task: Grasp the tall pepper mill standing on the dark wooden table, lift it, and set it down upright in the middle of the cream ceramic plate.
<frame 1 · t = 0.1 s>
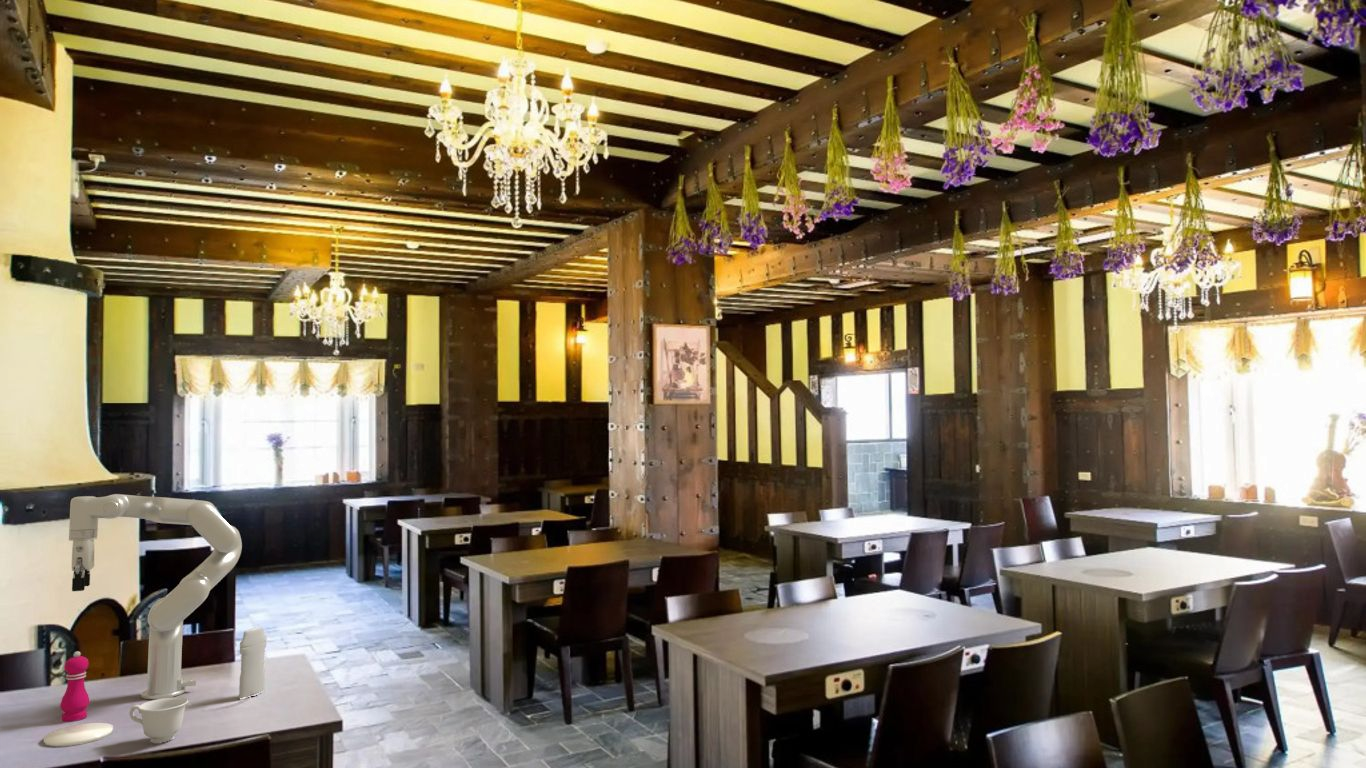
hand: (80, 588, 271), 37 cm above the table, tool pointing down, fingers open, 9 cm apart
tall pale column: (251, 696, 277), on the table
teacup: (156, 740, 236), on the table
pepper mill: (74, 719, 255), on the table
plate: (78, 736, 240), on the table
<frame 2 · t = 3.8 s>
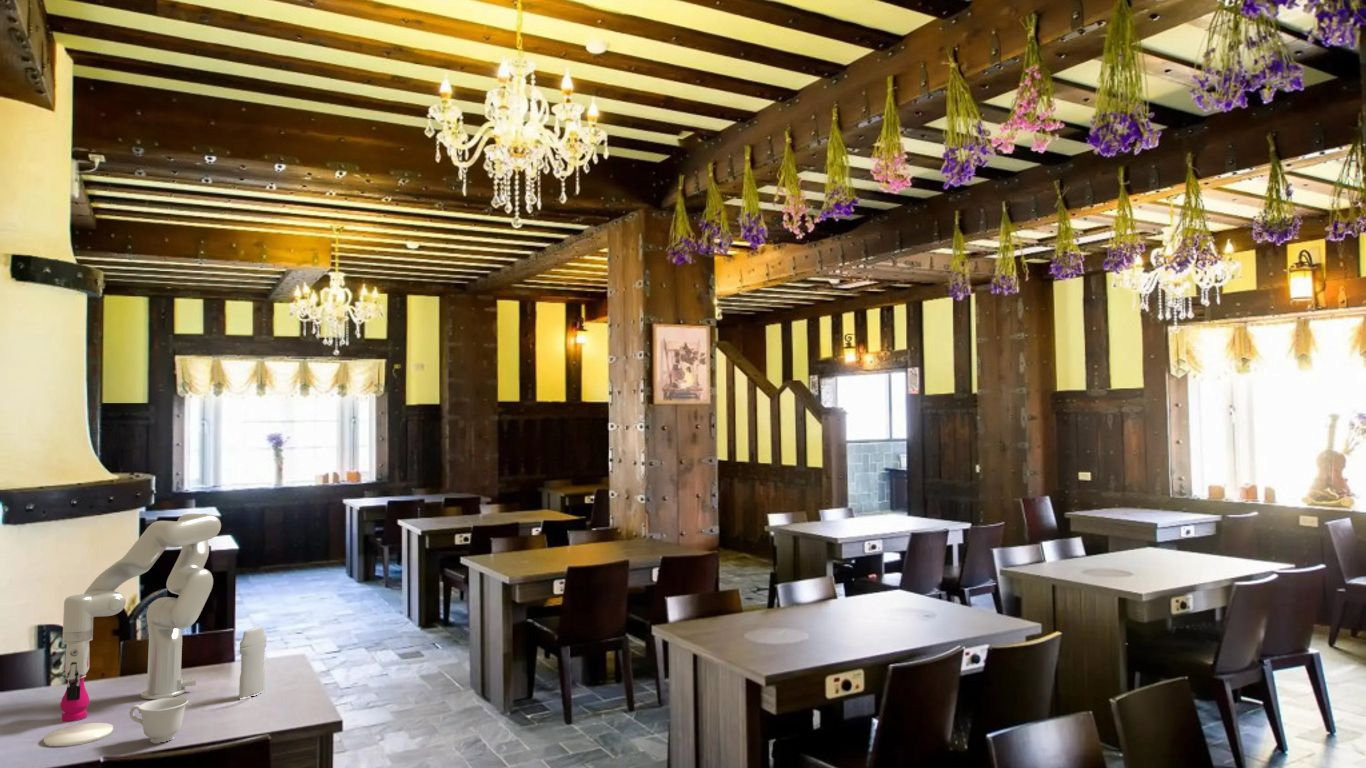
hand: (75, 696, 256), 7 cm above the table, tool pointing down, fingers closed on pepper mill, 5 cm apart
pepper mill: (74, 719, 255), on the table, touching gripper
everything else where it was.
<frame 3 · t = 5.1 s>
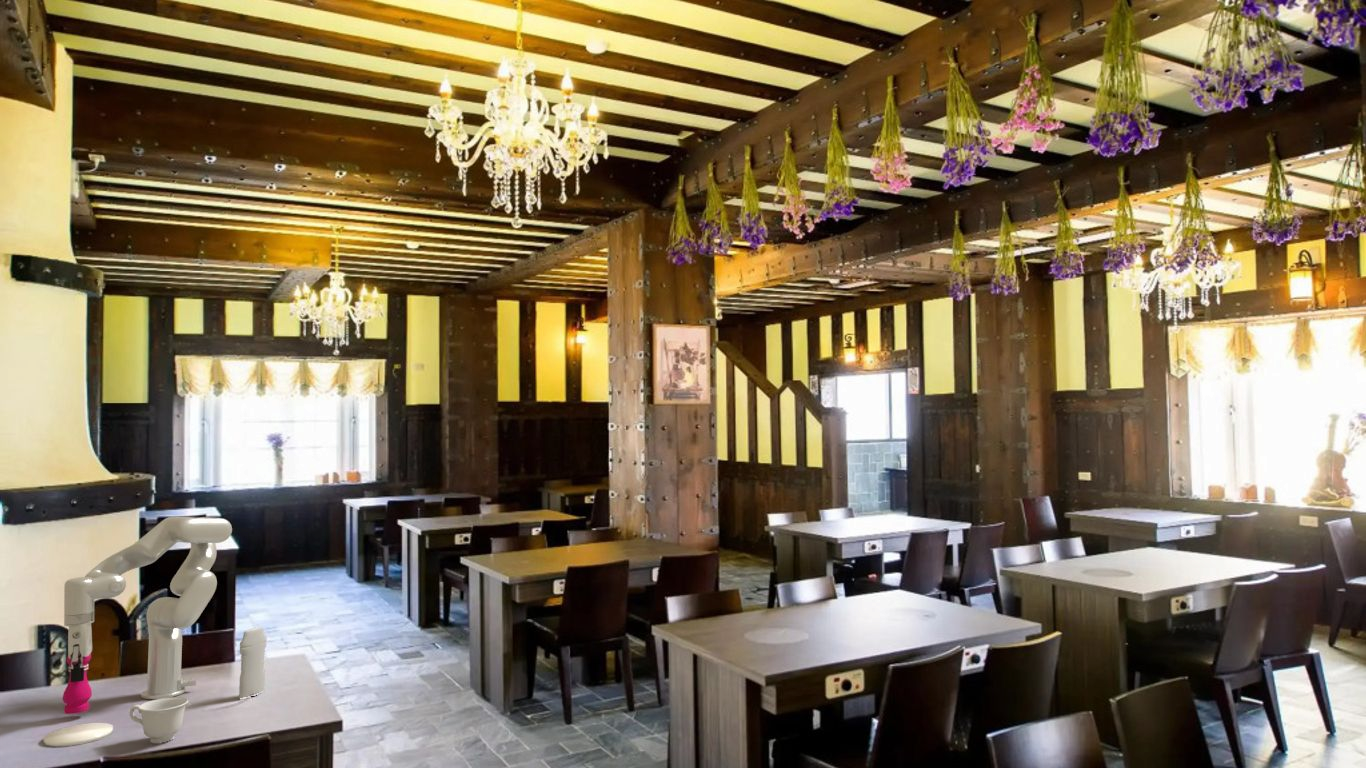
hand: (79, 678, 257), 12 cm above the table, tool pointing down, fingers closed on pepper mill, 5 cm apart
pepper mill: (76, 711, 256), point 2 cm above the table, touching gripper
everything else where it was.
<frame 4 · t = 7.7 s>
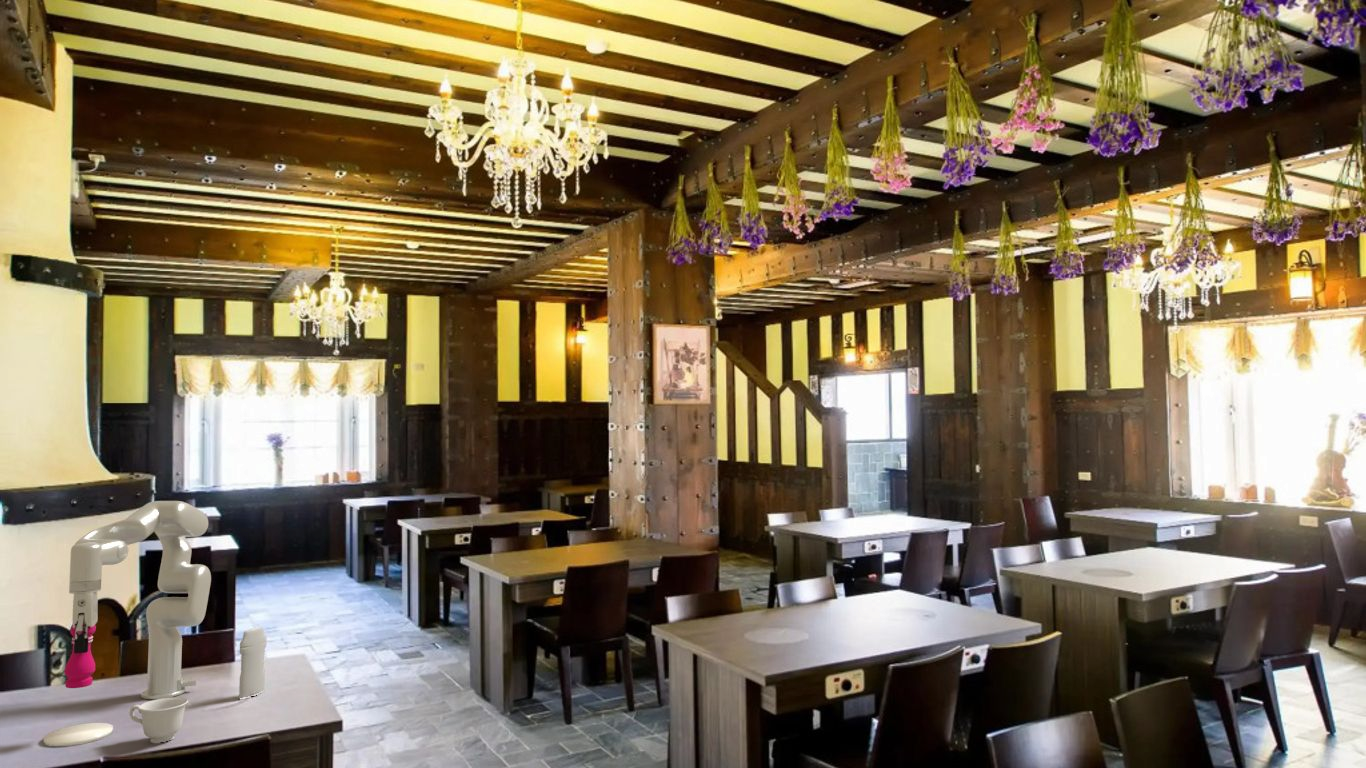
hand: (82, 649, 241), 24 cm above the table, tool pointing down, fingers closed on pepper mill, 5 cm apart
pepper mill: (78, 686, 240), point 14 cm above the table, touching gripper
everything else where it was.
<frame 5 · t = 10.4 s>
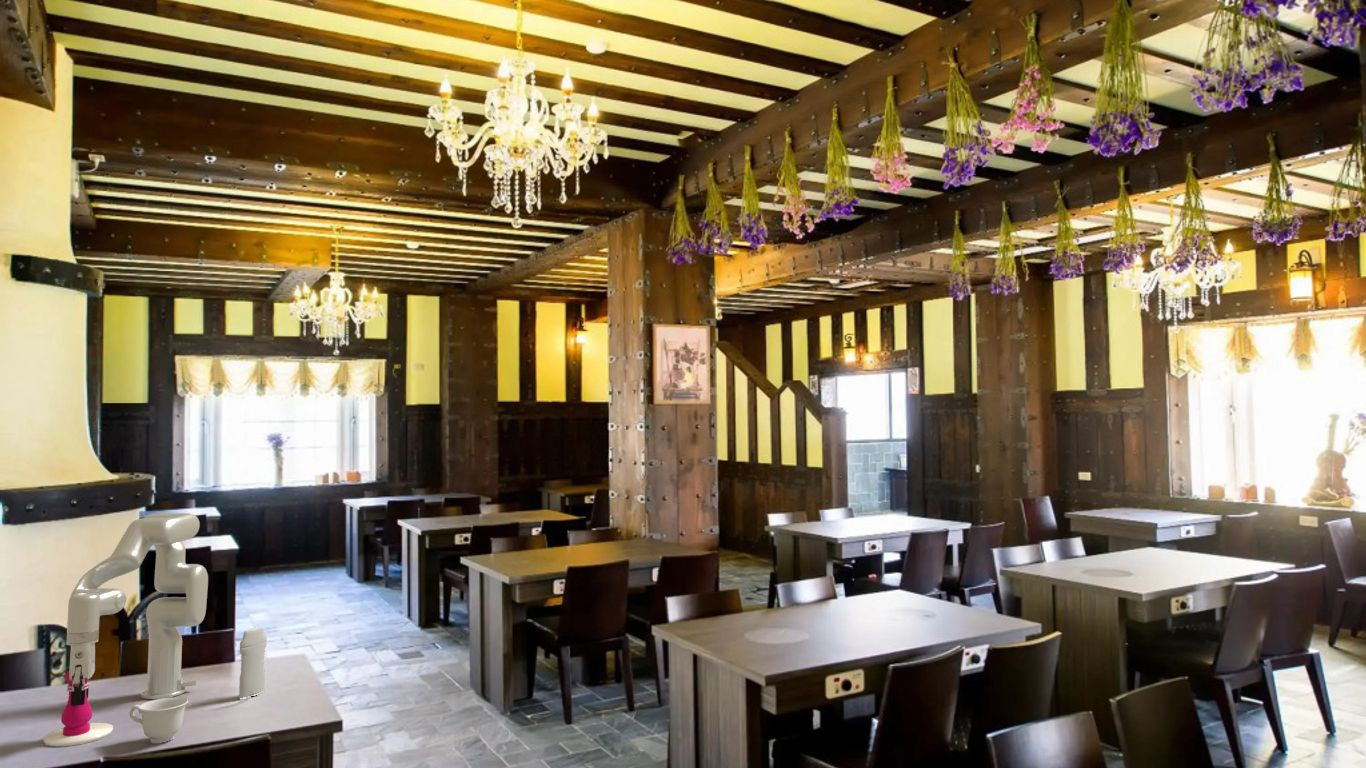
hand: (79, 701, 240), 10 cm above the table, tool pointing down, fingers closed on pepper mill, 5 cm apart
pepper mill: (76, 733, 239), point 1 cm above the table, touching gripper, plate
everything else where it was.
when the fingers open (9 cm above the table, at t = 10.9 s): pepper mill stays where it is, resting on plate.
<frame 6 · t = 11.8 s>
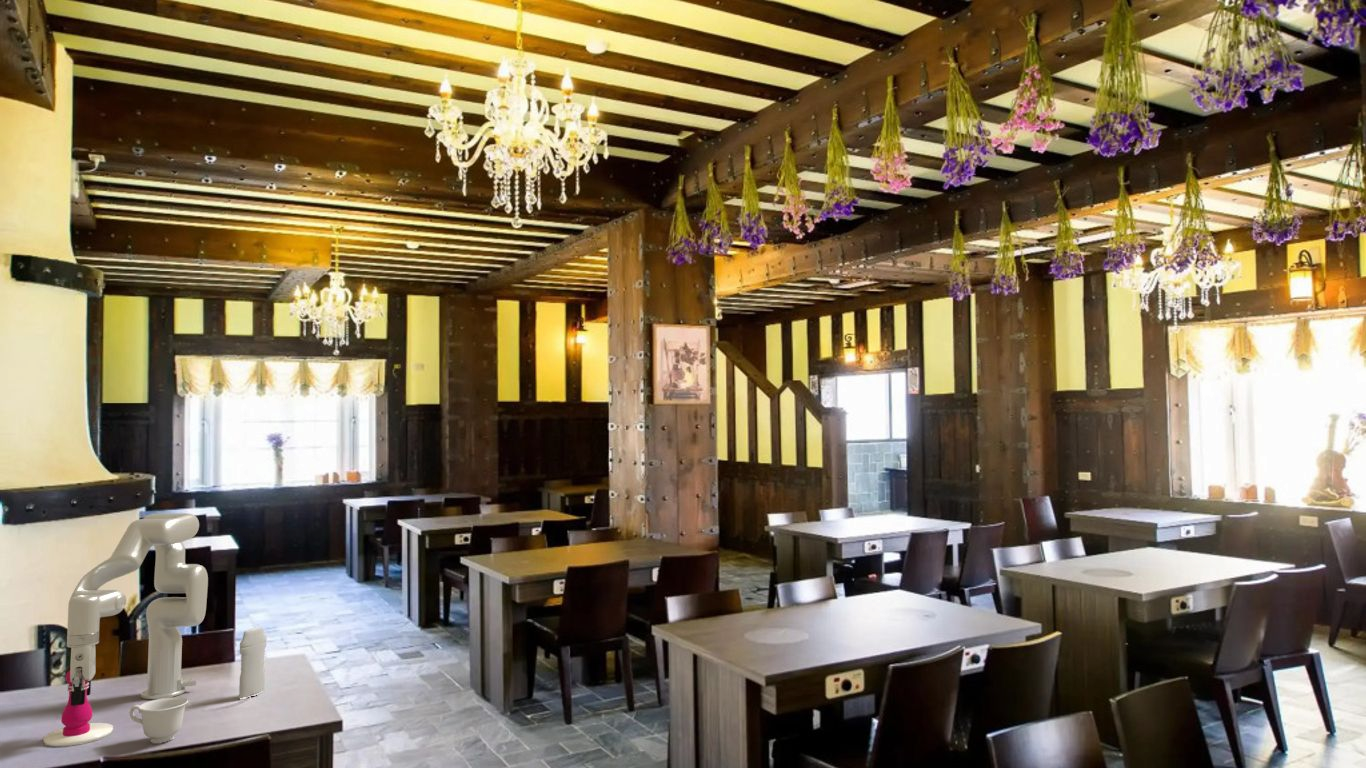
hand: (80, 700, 240), 10 cm above the table, tool pointing down, fingers open, 9 cm apart
pepper mill: (76, 733, 239), point 1 cm above the table, touching plate
everything else where it was.
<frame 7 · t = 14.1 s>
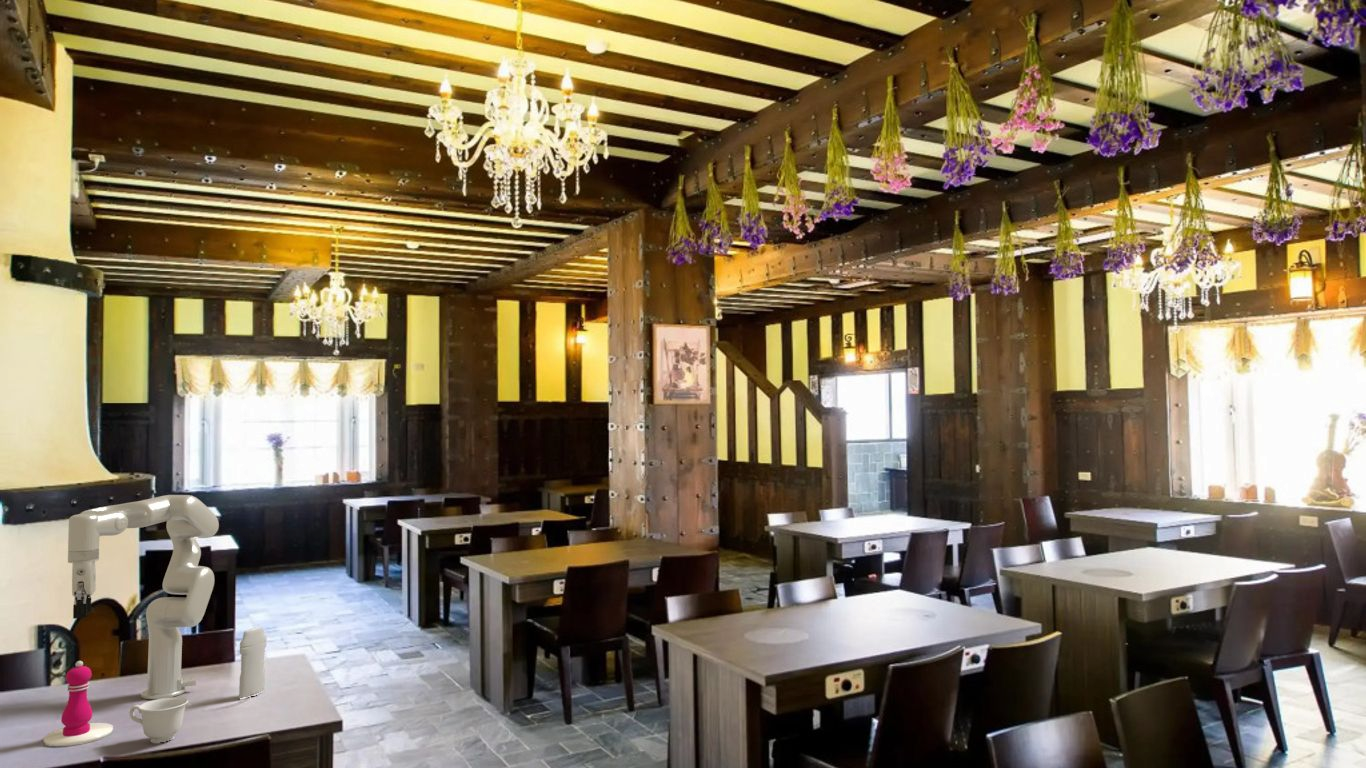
hand: (82, 614, 248), 33 cm above the table, tool pointing down, fingers open, 9 cm apart
nothing on the table moved.
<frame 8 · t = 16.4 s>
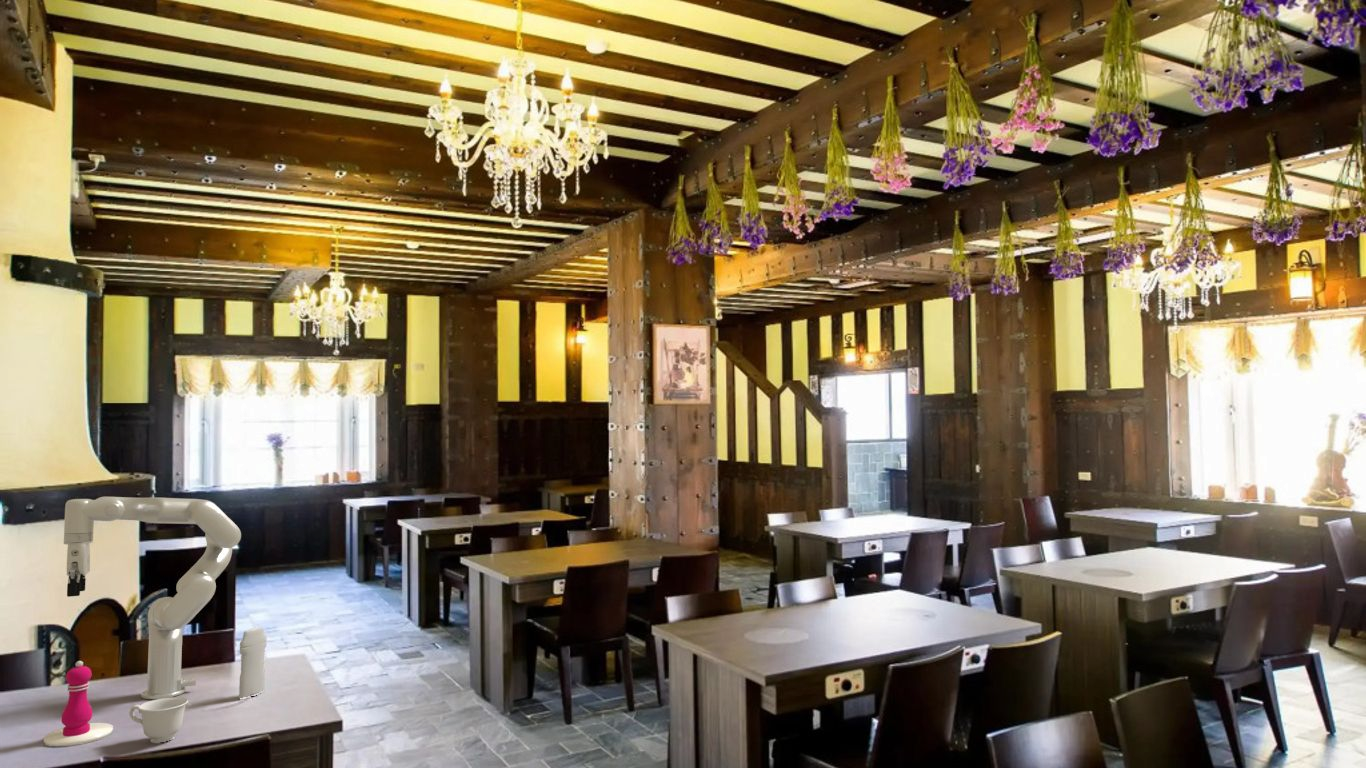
hand: (76, 593, 264), 36 cm above the table, tool pointing down, fingers open, 9 cm apart
nothing on the table moved.
at the end: pepper mill inside the target area on the plate (0.6 cm from its centre), point 1.0 cm above the plate's base; pepper mill tilted 0°; the gripper is holding nothing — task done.
